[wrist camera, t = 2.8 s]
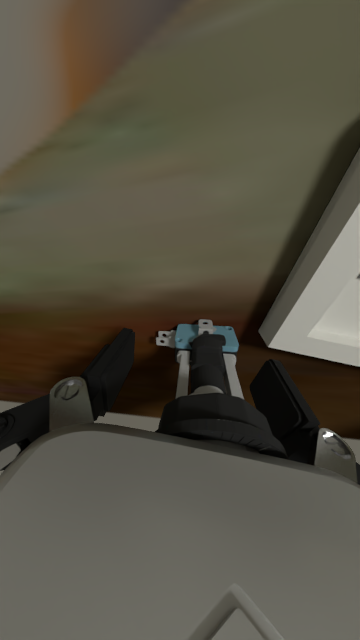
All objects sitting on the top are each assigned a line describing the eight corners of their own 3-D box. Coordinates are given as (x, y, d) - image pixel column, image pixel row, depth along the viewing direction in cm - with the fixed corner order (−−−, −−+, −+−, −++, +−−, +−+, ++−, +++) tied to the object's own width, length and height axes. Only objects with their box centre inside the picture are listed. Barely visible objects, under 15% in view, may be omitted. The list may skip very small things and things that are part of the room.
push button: (161, 352, 15) (115, 508, 7) (158, 303, 13) (74, 457, 4) (229, 357, 15) (274, 533, 6) (240, 307, 12) (348, 494, 3)
